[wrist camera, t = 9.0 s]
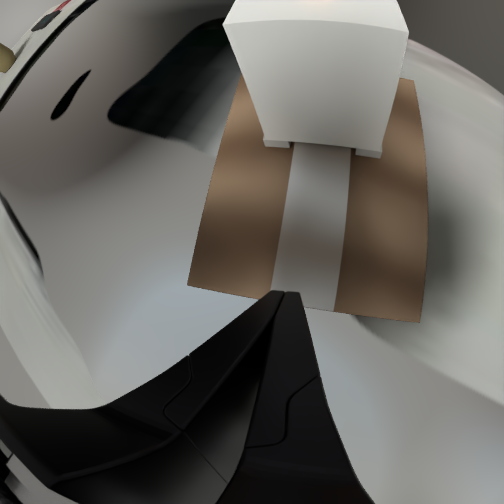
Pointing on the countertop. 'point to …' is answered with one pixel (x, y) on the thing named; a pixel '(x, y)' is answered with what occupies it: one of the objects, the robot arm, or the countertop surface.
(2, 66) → the squeeze bottle
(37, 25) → the smart home device
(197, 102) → the countertop surface
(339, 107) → the block
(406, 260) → the rail board
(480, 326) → the countertop surface
